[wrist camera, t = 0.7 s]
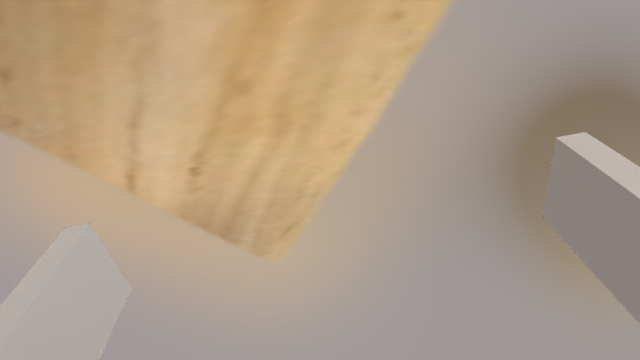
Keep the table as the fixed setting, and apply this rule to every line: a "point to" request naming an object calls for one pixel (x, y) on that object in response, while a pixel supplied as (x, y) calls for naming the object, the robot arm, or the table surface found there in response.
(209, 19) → the table surface
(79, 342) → the robot arm
